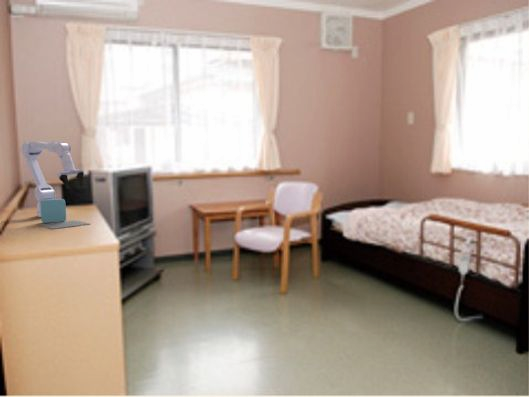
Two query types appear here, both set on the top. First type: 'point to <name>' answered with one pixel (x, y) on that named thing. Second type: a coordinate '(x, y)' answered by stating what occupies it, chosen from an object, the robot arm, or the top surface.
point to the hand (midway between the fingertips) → (75, 187)
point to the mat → (63, 224)
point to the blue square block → (53, 210)
